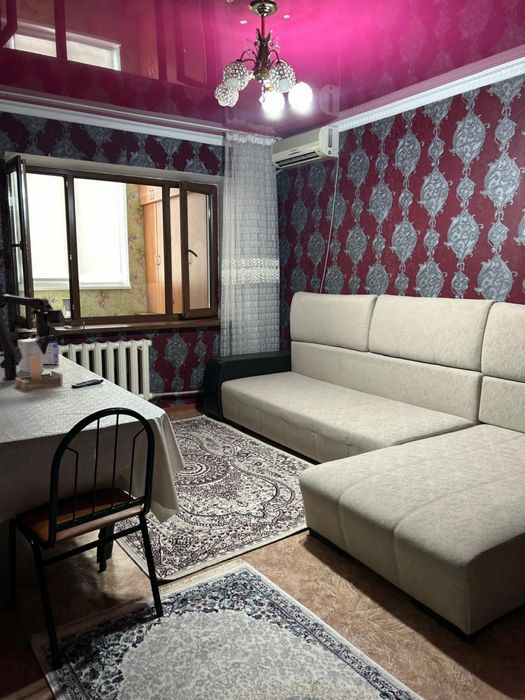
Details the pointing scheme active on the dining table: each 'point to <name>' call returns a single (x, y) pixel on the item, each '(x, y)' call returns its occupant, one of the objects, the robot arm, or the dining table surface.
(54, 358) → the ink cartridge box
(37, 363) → the canister
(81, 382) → the dining table surface
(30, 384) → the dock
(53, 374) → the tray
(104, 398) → the dining table surface
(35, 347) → the supplement box
